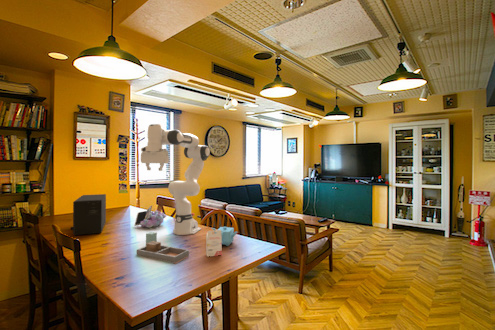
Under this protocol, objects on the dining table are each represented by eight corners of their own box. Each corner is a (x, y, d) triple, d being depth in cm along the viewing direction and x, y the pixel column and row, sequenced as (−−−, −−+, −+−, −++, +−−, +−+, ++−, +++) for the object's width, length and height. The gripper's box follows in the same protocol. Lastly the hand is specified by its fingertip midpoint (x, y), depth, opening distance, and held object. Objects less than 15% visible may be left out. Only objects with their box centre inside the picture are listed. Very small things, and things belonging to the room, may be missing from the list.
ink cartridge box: (220, 252, 150) (220, 227, 150) (221, 255, 146) (222, 230, 145) (205, 253, 148) (206, 228, 148) (206, 256, 143) (207, 231, 143)
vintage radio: (79, 224, 210) (79, 194, 210) (105, 222, 219) (106, 193, 218) (69, 237, 176) (69, 201, 176) (101, 234, 185) (101, 200, 184)
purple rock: (171, 220, 210) (165, 201, 215) (149, 224, 192) (142, 203, 197) (157, 230, 219) (151, 211, 224) (135, 234, 201) (129, 214, 206)
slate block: (151, 244, 164) (151, 231, 164) (156, 245, 162) (156, 232, 162) (145, 246, 160) (146, 233, 160) (151, 247, 158) (151, 234, 158)
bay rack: (152, 249, 155) (152, 243, 154) (188, 256, 144) (188, 250, 144) (136, 255, 143) (136, 249, 143) (175, 263, 133) (175, 257, 133)
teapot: (234, 248, 157) (234, 230, 157) (206, 246, 161) (206, 228, 161) (239, 241, 173) (240, 224, 173) (214, 239, 176) (215, 223, 176)
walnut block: (152, 251, 150) (152, 241, 150) (160, 252, 147) (160, 242, 147) (146, 253, 145) (146, 243, 145) (154, 255, 143) (154, 245, 143)
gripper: (171, 149, 162) (170, 170, 162) (146, 149, 169) (146, 169, 170) (164, 148, 156) (164, 171, 156) (139, 148, 164) (138, 170, 164)
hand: (154, 170), depth 163 cm, fingers open, 8 cm apart
